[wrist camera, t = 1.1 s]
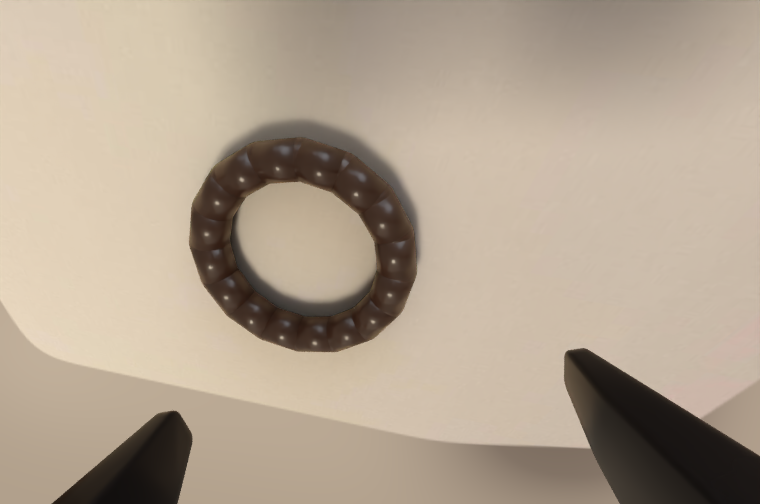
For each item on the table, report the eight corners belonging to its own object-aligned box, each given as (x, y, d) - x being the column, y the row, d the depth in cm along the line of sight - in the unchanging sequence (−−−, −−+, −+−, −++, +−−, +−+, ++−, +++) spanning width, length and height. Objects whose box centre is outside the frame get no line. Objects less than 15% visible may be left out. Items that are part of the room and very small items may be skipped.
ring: (408, 124, 18) (404, 131, 16) (423, 337, 23) (421, 360, 21) (174, 146, 20) (148, 154, 18) (235, 336, 25) (219, 357, 23)
